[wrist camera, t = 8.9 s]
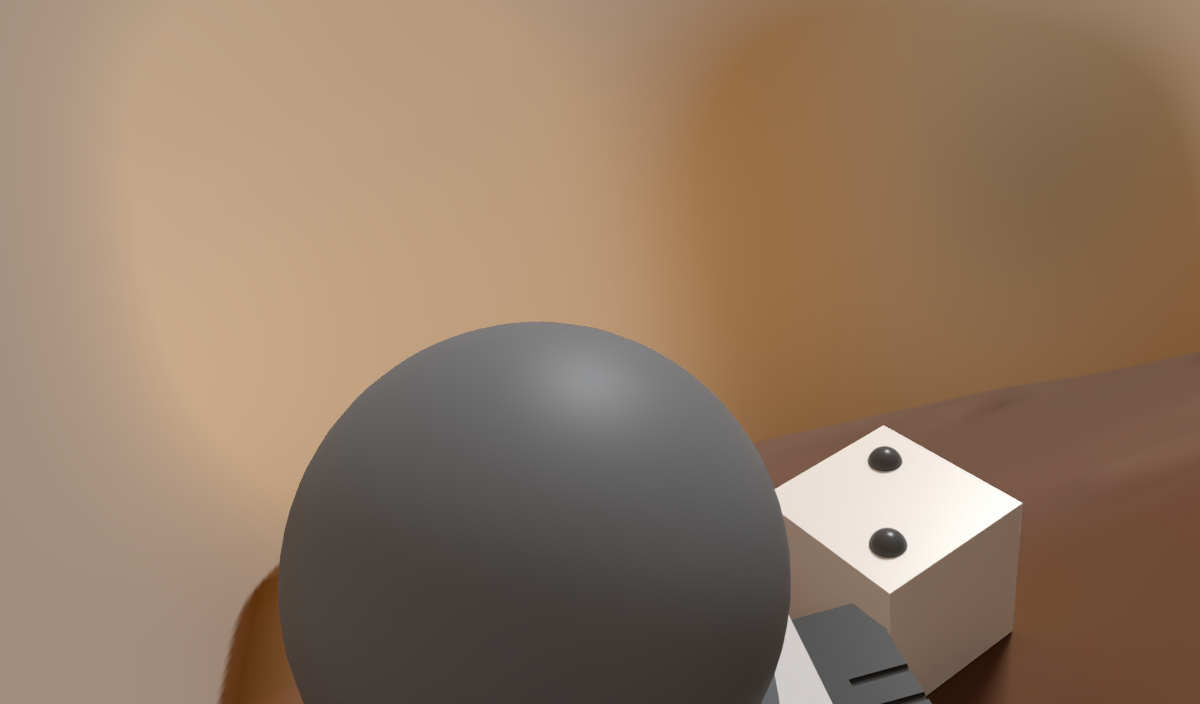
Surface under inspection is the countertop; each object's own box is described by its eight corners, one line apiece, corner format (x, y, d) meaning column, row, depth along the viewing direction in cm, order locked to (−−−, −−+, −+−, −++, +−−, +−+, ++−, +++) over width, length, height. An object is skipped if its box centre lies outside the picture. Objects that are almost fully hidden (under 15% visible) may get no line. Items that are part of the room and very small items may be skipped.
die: (885, 543, 38) (883, 414, 35) (1012, 630, 33) (1023, 491, 30) (772, 617, 36) (758, 486, 32) (891, 721, 31) (889, 582, 28)
